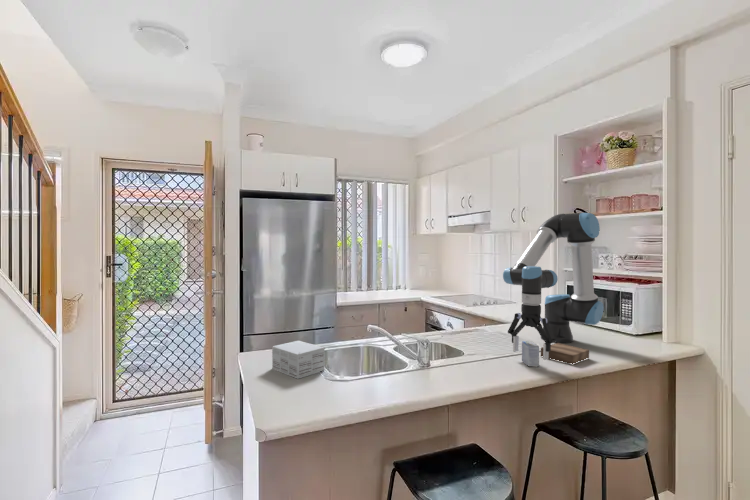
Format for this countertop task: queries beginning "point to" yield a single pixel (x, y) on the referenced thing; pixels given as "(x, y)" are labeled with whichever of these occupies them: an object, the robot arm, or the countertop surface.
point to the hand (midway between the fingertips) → (530, 355)
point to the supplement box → (298, 359)
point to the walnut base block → (567, 353)
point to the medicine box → (530, 353)
